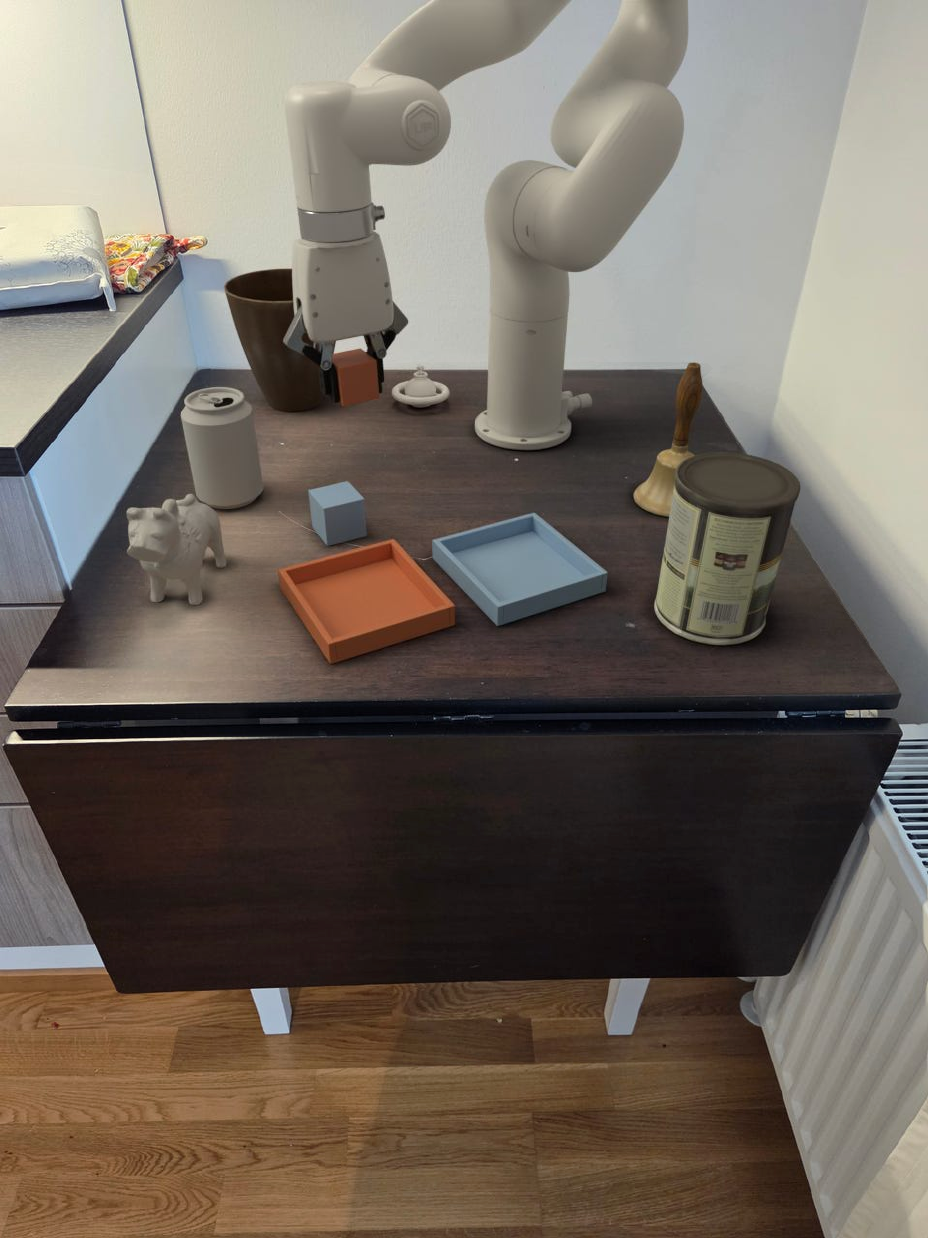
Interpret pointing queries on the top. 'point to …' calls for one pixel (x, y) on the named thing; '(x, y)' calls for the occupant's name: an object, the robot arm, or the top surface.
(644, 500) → the hand bell
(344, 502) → the blue block
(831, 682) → the top surface
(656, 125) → the robot arm
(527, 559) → the blue tray
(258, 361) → the flower pot
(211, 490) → the can
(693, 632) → the coffee can
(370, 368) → the terracotta block
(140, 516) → the dog figurine
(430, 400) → the ring around a ball
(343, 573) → the terracotta tray
